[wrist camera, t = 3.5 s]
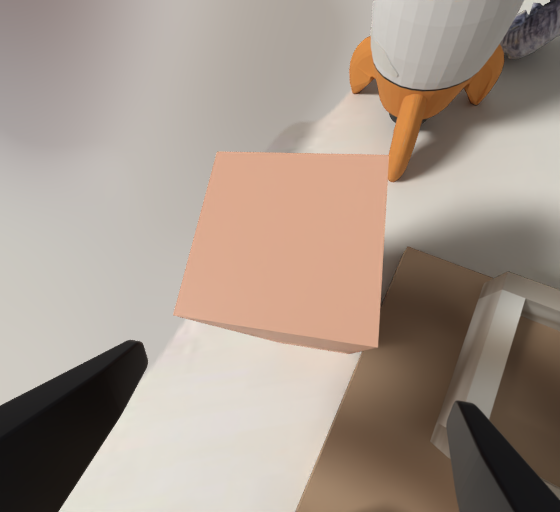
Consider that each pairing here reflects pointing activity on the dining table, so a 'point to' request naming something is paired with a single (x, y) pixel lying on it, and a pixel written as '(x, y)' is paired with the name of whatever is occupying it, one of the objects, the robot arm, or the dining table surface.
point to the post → (291, 249)
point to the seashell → (532, 30)
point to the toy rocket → (429, 60)
